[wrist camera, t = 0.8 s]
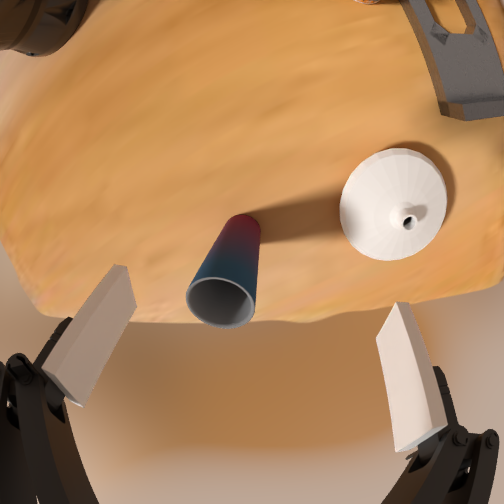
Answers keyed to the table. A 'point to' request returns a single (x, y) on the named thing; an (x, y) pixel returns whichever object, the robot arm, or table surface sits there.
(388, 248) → the lid
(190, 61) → the table surface
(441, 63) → the jig
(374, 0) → the pill bottle
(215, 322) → the cup
